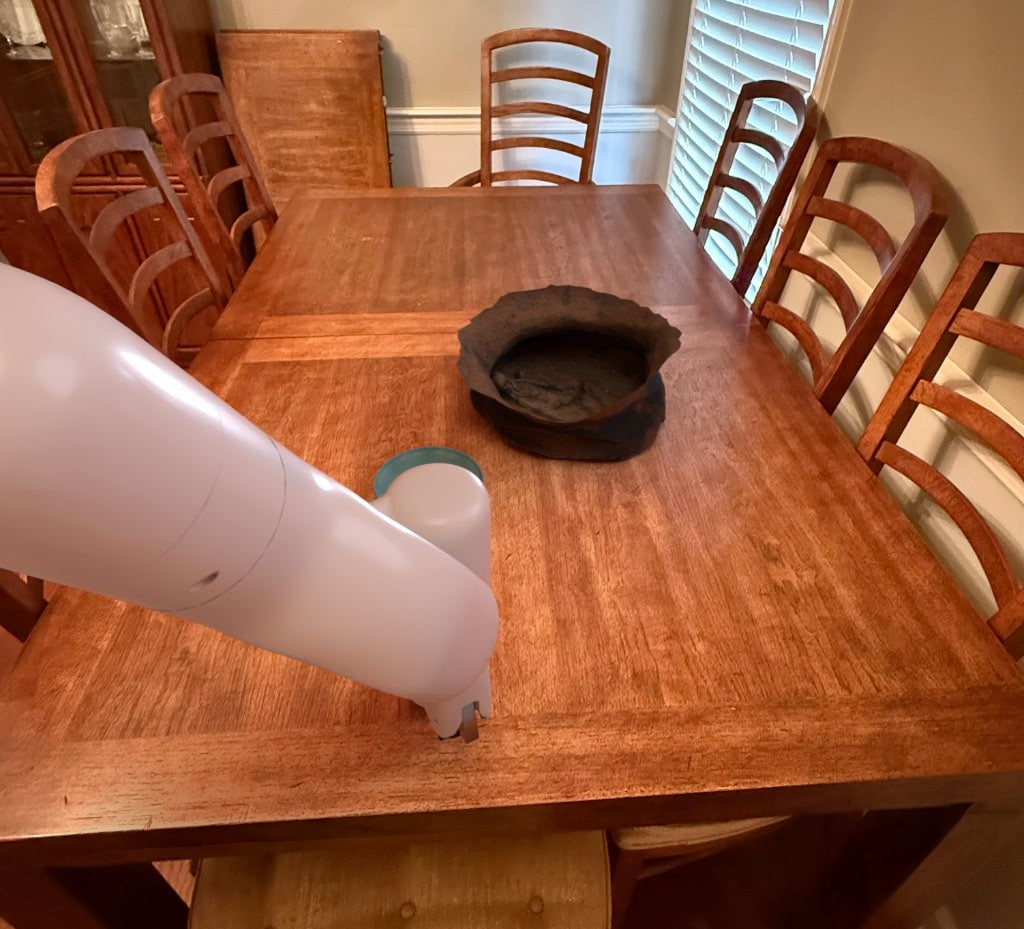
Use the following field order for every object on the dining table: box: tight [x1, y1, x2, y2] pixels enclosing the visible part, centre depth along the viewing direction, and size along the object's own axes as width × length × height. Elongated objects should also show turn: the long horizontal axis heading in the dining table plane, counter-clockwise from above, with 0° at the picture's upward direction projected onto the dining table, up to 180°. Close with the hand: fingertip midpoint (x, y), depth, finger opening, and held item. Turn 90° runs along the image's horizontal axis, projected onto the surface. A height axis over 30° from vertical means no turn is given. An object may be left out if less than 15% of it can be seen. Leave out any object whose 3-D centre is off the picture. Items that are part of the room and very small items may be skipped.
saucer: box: [373, 445, 485, 499], centre depth 94 cm, size 15×15×3 cm
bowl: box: [455, 283, 683, 461], centre depth 107 cm, size 34×33×15 cm
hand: (452, 728), depth 66 cm, fingers closed
